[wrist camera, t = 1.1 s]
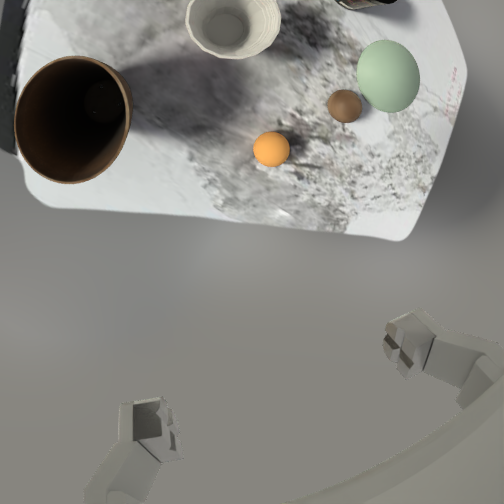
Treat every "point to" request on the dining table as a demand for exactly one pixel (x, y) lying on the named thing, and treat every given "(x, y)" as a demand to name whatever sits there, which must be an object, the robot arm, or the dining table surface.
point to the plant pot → (73, 119)
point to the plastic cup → (233, 26)
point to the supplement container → (362, 3)
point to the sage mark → (388, 76)
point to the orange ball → (271, 149)
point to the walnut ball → (344, 106)
